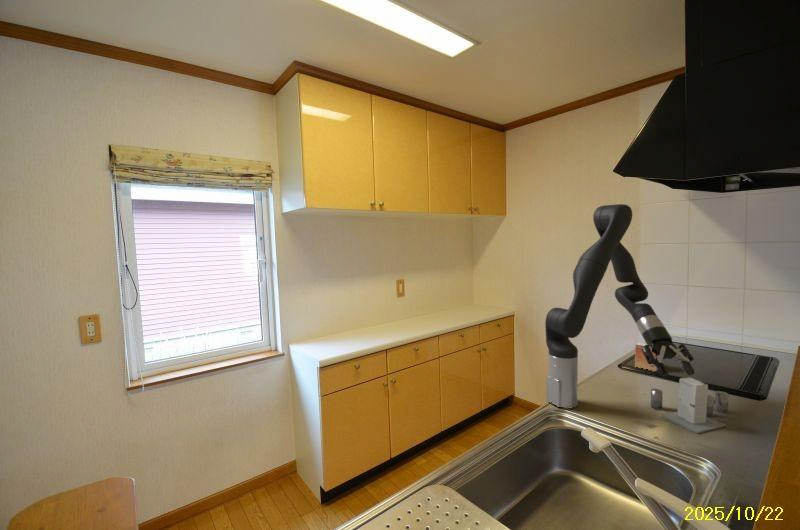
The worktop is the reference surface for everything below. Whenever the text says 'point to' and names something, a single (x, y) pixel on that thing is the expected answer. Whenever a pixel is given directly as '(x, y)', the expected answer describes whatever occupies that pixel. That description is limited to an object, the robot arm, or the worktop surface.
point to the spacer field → (720, 401)
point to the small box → (642, 358)
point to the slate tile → (690, 426)
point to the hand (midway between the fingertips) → (679, 374)
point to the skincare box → (692, 400)
